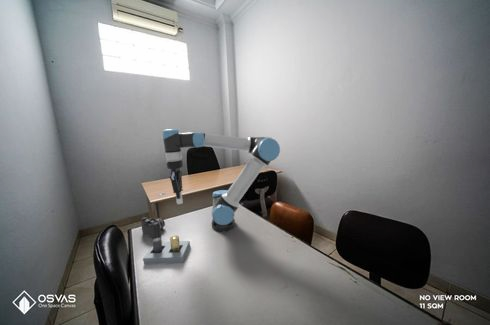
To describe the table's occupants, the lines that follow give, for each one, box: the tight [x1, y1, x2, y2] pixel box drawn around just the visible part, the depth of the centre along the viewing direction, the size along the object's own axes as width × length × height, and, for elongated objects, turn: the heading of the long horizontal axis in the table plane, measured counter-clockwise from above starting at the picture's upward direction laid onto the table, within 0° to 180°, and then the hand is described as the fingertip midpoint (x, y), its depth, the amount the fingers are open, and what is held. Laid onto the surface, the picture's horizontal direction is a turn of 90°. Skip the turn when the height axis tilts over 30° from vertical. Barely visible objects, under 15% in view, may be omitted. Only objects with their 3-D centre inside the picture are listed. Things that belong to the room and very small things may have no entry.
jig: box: [142, 237, 191, 265], centre depth 86 cm, size 18×12×8 cm, turn 91°
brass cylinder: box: [169, 235, 180, 253], centre depth 86 cm, size 4×4×8 cm
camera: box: [140, 216, 166, 240], centre depth 106 cm, size 14×11×10 cm
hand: (179, 203), depth 92 cm, fingers closed
